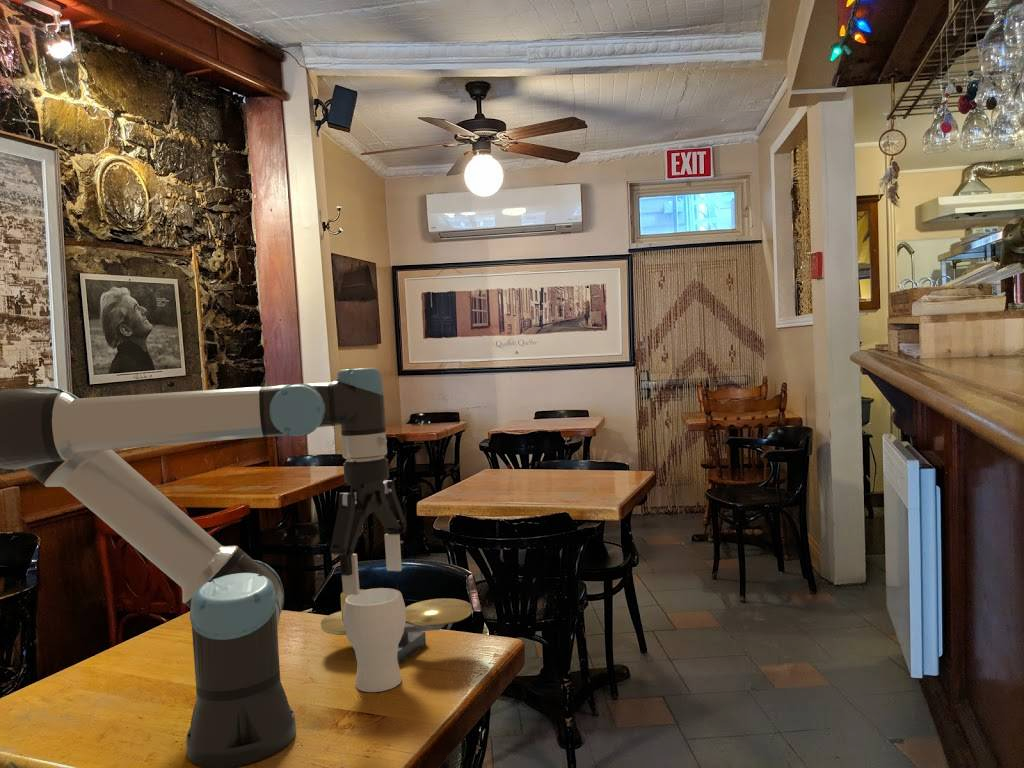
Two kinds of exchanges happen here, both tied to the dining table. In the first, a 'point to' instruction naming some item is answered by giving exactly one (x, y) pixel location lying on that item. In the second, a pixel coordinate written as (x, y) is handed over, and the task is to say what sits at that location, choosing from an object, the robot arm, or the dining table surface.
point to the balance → (411, 621)
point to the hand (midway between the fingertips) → (373, 581)
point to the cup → (375, 636)
